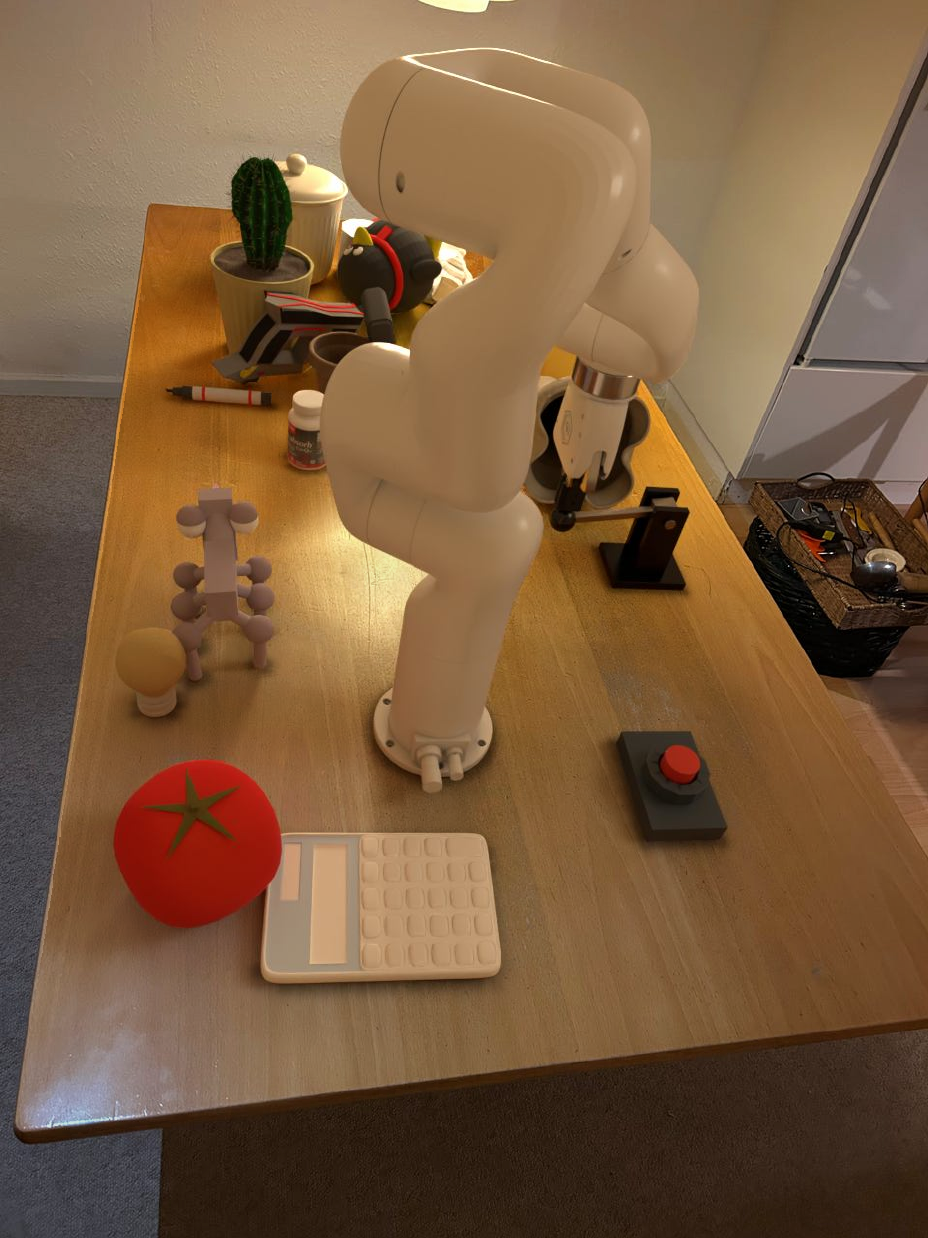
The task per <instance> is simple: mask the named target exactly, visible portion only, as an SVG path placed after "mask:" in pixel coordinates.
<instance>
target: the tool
mask: <svg viewBox="0 0 928 1238" xmlns="http://www.w3.org/2000/svg"><path fill="white" fill-rule="evenodd" d="M264 294H265V298H266V300H265V303H266V312H265V313H264V314H263V315H262V316H261V317H260V318H259V319H258V320H257V322H256V323H255V324H254V325H253V327H252V328H251V330H250V331H249V332H248V334H247V336H246V338H245V340H244V342H243V344H242V346H241V348H240V349H239V350H238V351H237V352H235V353H233V354H230V353H229V352H228V354H227V355H226V356H223V357H221V358H218V359H216V360H213V361H211V365H212V366H213V368H214V369H215V370H216V371H217V372H218V373H219V374H220V376H221V377H222V378H223V379H225V380H229V381H233V382H235V383H236V385H237V386H239V387H248V385H250V384H257V383H258V381H260V379H261V378H264V377H265V378H266V377H273V376H274V377H275V376H276V377H277V376H286V375H296V374H303V372H305V371H306V370H308V369H309V368H311V365H310V363H309V345H310V343H311V341H312V340H313V339H314V338H316V337H317V336H319V335H322V334H325V333H330V332H350V333H356V334H358V332H359V331H360V329H361V327H362V326H363V323H364V322H365V319H364V313H363V306H362V305H360V306H358V307H356V306H355V305H354V304H353V303H350V302H333V301H318V300H314V299H310V298H308V299H307V298H304V297H300V296H298V295H297V294H294V293H292V292H280V291H269V290H264ZM295 337H299V338H298V340H297V341H296V343H295V345H294V346H293V348H292V350H282V348H283V347H284V345H285V344H286V343H287V342H289V341H290V340H291V339H293V338H295ZM281 350H282V351H281Z"/></svg>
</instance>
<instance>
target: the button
mask: <svg viewBox="0 0 928 1238" xmlns="http://www.w3.org/2000/svg"><path fill="white" fill-rule="evenodd" d="M660 768H661V771H662V773H663V774H664V776H665V777H666V778H667V779H669V780H670V781H672V782H674V783H677V784H687V783H689V782H691V781H692V780H693V778H694V777H695V775H696V773H697V772H698V770H699V768H700V760H699V758H698V756H697V755H696V753H695V752H694V751H692V750H691V749H689V748H687V747H685V746H681V745H674V746H671V747H669V748H668V749H667V751H666V752H665V754H664V756H663V758H662V760H661V762H660Z"/></svg>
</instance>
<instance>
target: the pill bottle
mask: <svg viewBox="0 0 928 1238" xmlns="http://www.w3.org/2000/svg"><path fill="white" fill-rule="evenodd" d="M323 397H324V394H322V393H320V392H319V390H313V389H302V390H299V391H297V392H295V393H294V394H293V395H292V402H291V405H292V408H291V409H290V410H289V412H288V418H287V449H286V451H287V452H286V453H287V454H286V455H287V460H288V462H289V463H290V464H291V466H293V467H295V468H297V469H299V470H302V471H317V470H320V469H322V468H324V467H326V463H325V459H324V455H323V450H322V445H321V439H320V414H321V406H322V401H323Z"/></svg>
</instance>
